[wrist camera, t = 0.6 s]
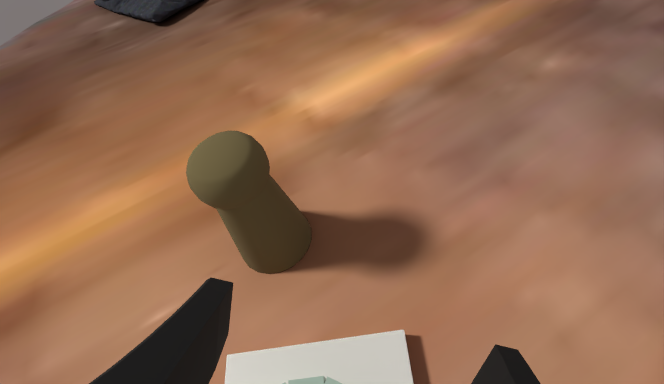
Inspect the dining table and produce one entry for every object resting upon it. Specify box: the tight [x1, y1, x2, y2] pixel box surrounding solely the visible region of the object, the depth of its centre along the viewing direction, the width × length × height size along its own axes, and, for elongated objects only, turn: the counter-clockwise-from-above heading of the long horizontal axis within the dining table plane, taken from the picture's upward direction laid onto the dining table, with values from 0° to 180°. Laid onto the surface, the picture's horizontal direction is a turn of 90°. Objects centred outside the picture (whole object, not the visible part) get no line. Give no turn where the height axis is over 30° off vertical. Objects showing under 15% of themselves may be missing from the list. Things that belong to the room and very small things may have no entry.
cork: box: [186, 131, 311, 274], centre depth 29 cm, size 6×6×11 cm
